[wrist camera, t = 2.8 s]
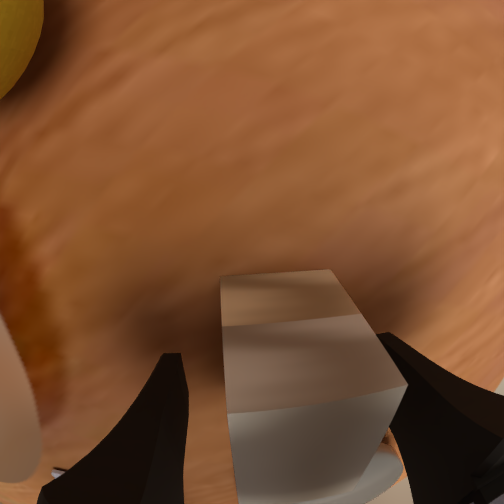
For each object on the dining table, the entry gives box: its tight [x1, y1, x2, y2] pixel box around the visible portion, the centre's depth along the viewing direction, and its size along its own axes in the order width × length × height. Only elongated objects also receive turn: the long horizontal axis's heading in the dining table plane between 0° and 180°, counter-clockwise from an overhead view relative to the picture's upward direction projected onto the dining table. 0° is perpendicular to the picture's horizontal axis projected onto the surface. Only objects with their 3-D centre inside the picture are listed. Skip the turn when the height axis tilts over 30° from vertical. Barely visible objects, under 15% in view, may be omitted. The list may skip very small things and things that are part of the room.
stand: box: [292, 443, 403, 504], centre depth 17 cm, size 11×11×2 cm
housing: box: [220, 269, 408, 504], centre depth 10 cm, size 4×6×6 cm, turn 0°
